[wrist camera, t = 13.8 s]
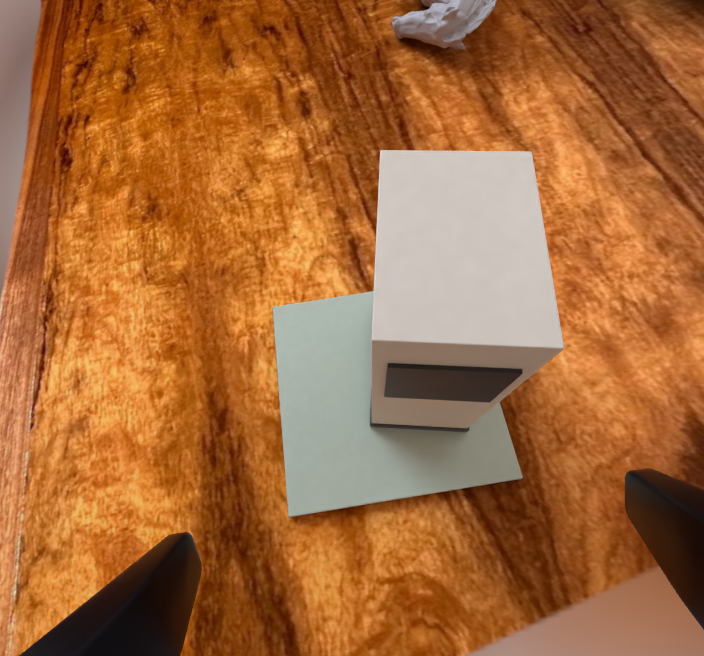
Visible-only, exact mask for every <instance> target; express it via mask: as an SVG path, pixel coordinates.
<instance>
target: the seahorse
mask: <svg viewBox="0 0 704 656" xmlns="http://www.w3.org/2000/svg"><path fill="white" fill-rule="evenodd" d="M496 1H497V0H421V2H422V4H423V5H424V6H426V7H429V8H430V9H427V10H424V11H416V12H413V11H412V12H410V13H408V14H406V15H404V16H402V17H394V18H393V20H392V27H393V30H394V32H395V35H396V36H397V37H398V38H399V39H402V38H403V37H407V38H412V39H418V40H421V41H422V42H424V43H430V44H433V45H437V46H440V47H442V48H447V47H451V48H455V49H462V50H465V49H466V47H465V46H464V44H463V43H462V42H461V41H462V40H463V39H464V37H465V36H466V35H467V34H470V33H471V32H472V31H474V30H475V29H477V28H478V26H479V25H480V24H481V23H482V22H483V21H484V20H485V18H487V17H488V16H489V15H490V13H491V11H492V10H493V9H494V8H495V5H496Z"/></svg>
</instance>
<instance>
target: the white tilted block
mask: <svg viewBox="0 0 704 656" xmlns="http://www.w3.org/2000/svg"><path fill="white" fill-rule="evenodd" d="M563 349H564V344H563V338H562V332H561V326H560V320H559V314H558V308H557V302H556V296H555V290H554V284H553V278H552V272H551V266H550V260H549V254H548V248H547V242H546V235H545V229H544V223H543V217H542V211H541V205H540V199H539V193H538V187H537V181H536V175H535V169H534V163H533V157H532V152H509V151H402V150H381V152H380V168H379V190H378V211H377V232H376V253H375V275H374V296H373V317H372V338H371V404H370V427H381V428H399V429H417V430H435V431H453V432H468V431H469V430H470V428H469V427H470V426H471V425H472V424H473V423H474V422H476V421H477V420H478V419H479V418H480V417H482V416H483V415H484V414H485V413H487V412H488V411H489V410H490V409H491V408H493V407H494V406H495V405H496V404H498V403H499V402H500V401H501V400H502V399H504V398H505V397H506V396H507V395H508V394H510V393H511V392H512V391H513V390H515V389H516V388H517V387H518V386H519V385H521V384H522V383H523V382H524V381H525V380H527V379H528V378H529V377H530V376H532V375H533V374H534V373H535V372H536V371H538V370H539V369H540V368H541V367H542V366H544V365H545V364H546V363H547V362H549V361H550V360H551V359H552V358H553V357H555V356H556V355H557V354H558V353H560V352H561V351H562V350H563Z"/></svg>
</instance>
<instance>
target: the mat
mask: <svg viewBox="0 0 704 656" xmlns="http://www.w3.org/2000/svg"><path fill="white" fill-rule="evenodd" d="M373 296H374V291H373V292H367V293H360V294H354V295H347V296H341V297H334V298H328V299H321V300H315V301H309V302H302V303H296V304H289V305H283V306H276V307H273V320H274V333H275V346H276V359H277V372H278V385H279V398H280V411H281V424H282V438H283V451H284V464H285V477H286V490H287V503H288V516H289V517H295V516H301V515H307V514H313V513H319V512H325V511H331V510H337V509H343V508H349V507H355V506H361V505H367V504H373V503H379V502H385V501H391V500H397V499H403V498H409V497H415V496H421V495H427V494H433V493H439V492H445V491H451V490H457V489H463V488H469V487H475V486H481V485H487V484H493V483H499V482H505V481H511V480H517V479H522V478H523V476H522V473H521V470H520V466H519V463H518V460H517V457H516V454H515V450H514V447H513V444H512V441H511V437H510V434H509V431H508V428H507V425H506V421H505V418H504V415H503V412H502V408H501V405H500V402H499V403H498V404H496V405H495V406H494V407H493V408H491V409H490V410H489V411H488V412H487V413H485V414H484V415H483V416H482V417H480V418H479V419H478V420H477V421H476V422H474V423H473V424H472V425H471V426H470V427H469V428H470V430H469V431H468V432H453V431H435V430H417V429H399V428H381V427H370V404H371V338H372V317H373Z"/></svg>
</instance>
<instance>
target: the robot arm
mask: <svg viewBox="0 0 704 656" xmlns="http://www.w3.org/2000/svg"><path fill="white" fill-rule="evenodd" d="M625 507H626V511H627V514H628V516H629V518H630V520H631V522H632V523H633V525H634V527H635V528H636V530H637V531H638V533H639V534H640V536H641V538H642V539H643V541H644V542H645V544H646V545H647V547H648V549H649V550H650V552H651V553H652V555H653V556H654V558H655V560H656V561H657V563H658V564H659V566H660V567H661V569H662V571H663V572H664V574H665V575H666V577H667V579H668V580H669V582H670V583H671V585H672V586H673V588H674V589H675V590H676V592H677V594H678V595H679V597H680V598H681V600H682V601H683V602H684V604H685V605H686V606H687V608H688V609H689V611H690V612H691V613H692V615H693V616H694V617H695V619H696V620H697V621H698V622H699V624H700V625H701V626H702V628H703V629H704V490H703V489H701V488H698V487H696V486H693V485H691V484H688V483H686V482H683V481H681V480H678V479H676V478H673V477H671V476H668V475H665V474H663V473H660V472H658V471H655V470H653V469H649V468H646V469H638V470H631V471H629V472H627V473H626V476H625ZM201 570H202V568H201V561H200V558H199V555H198V552H197V549H196V546H195V543H194V541H193V538H192V536H191V534H190V533H187V532H184V533H176V534H171V535H168V536H167V537H166V538H165V539H163V540H162V541H161V542H160V543H158V544H157V545H156V546H155V547H153V548H152V549H151V550H150V551H148V552H147V553H146V554H145V555H143V556H142V557H141V558H140V559H139V560H137V561H136V562H135V563H134V564H132V565H131V566H130V567H129V568H127V569H126V570H125V571H124V572H122V573H121V574H120V575H119V576H117V577H116V578H115V579H114V580H113V581H111V582H110V583H109V584H108V585H106V586H105V587H104V588H103V589H101V590H100V591H99V592H98V593H96V594H95V595H94V596H93V597H91V598H90V599H89V600H88V601H87V602H85V603H84V604H83V605H82V606H80V607H79V608H78V609H77V610H75V611H74V612H73V613H72V614H70V615H69V616H68V617H67V618H65V619H64V620H63V621H62V622H61V623H59V624H58V625H57V626H56V627H54V628H53V629H52V630H51V631H49V632H48V633H47V634H46V635H44V636H43V637H42V638H41V639H39V640H38V641H37V642H36V643H35V644H33V645H32V646H31V647H30V648H28V649H27V650H26V651H25V652H23V653H22V654H21V655H20V656H180V655H181V651H182V648H183V644H184V640H185V636H186V632H187V628H188V624H189V620H190V616H191V613H192V609H193V605H194V601H195V597H196V593H197V589H198V585H199V581H200V577H201Z"/></svg>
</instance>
